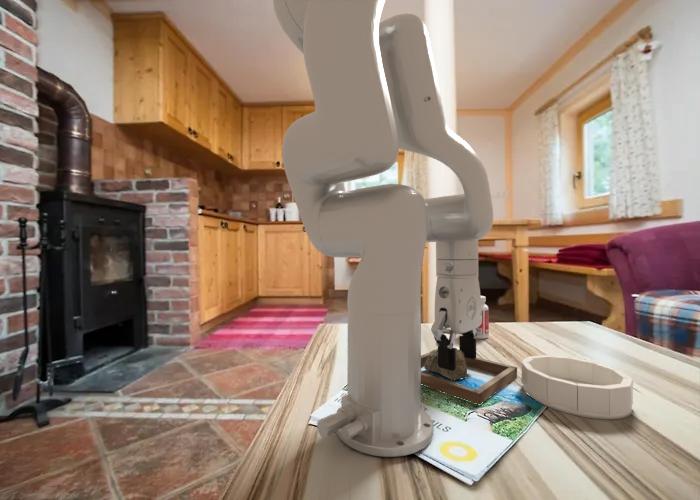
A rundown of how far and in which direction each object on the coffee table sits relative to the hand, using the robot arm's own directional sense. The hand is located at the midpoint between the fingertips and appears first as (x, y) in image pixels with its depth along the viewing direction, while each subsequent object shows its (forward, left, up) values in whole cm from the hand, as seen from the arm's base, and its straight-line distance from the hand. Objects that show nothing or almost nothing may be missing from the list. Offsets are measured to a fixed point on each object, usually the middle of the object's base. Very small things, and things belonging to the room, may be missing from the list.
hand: (457, 362), depth 59 cm
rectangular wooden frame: (-1, 0, -2) cm, 3 cm away
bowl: (+5, -17, -2) cm, 18 cm away
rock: (0, +2, -3) cm, 4 cm away
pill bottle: (+30, +10, -3) cm, 32 cm away
